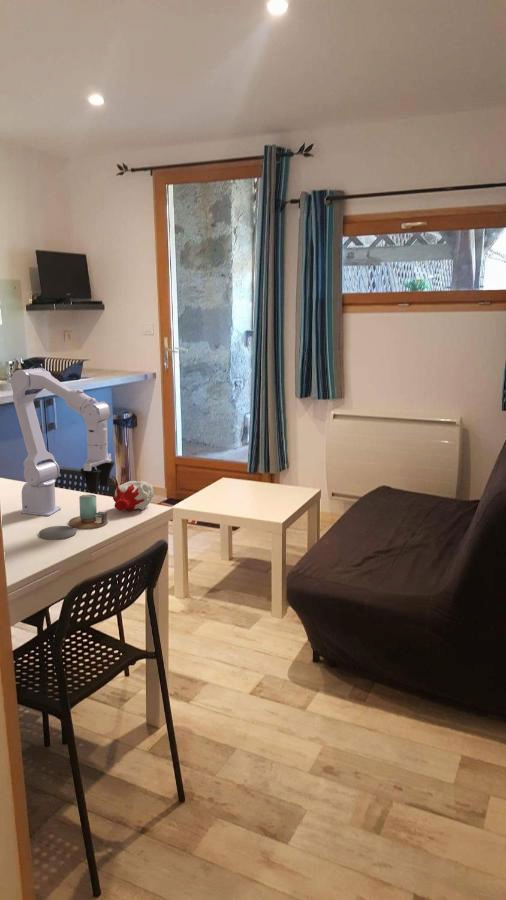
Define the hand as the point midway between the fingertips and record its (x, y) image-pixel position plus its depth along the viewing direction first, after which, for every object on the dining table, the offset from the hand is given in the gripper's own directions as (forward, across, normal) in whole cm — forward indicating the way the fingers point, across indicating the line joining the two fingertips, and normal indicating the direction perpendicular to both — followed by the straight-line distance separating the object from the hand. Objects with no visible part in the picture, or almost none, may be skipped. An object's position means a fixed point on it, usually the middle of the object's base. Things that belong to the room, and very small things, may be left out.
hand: (98, 488), depth 192 cm
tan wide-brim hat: (+10, -2, +2) cm, 11 cm away
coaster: (+10, -13, +7) cm, 18 cm away
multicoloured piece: (+10, +13, -5) cm, 17 cm away
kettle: (+8, -2, +2) cm, 9 cm away
